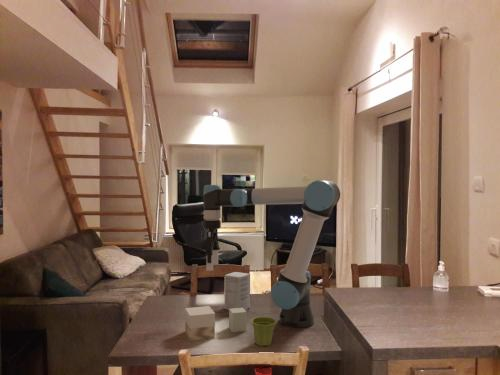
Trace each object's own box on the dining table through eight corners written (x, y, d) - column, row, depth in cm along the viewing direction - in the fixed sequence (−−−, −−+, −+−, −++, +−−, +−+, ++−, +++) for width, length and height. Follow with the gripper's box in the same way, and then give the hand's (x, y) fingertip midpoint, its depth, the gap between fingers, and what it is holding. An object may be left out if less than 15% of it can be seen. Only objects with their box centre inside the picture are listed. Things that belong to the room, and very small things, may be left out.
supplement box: (250, 308, 198) (251, 273, 198) (240, 313, 190) (240, 277, 190) (234, 304, 203) (235, 271, 203) (223, 309, 195) (224, 274, 195)
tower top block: (209, 317, 168) (209, 306, 168) (214, 326, 159) (215, 313, 159) (185, 320, 165) (185, 308, 165) (189, 328, 155) (189, 315, 155)
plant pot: (258, 336, 160) (258, 315, 160) (279, 341, 156) (280, 319, 156) (246, 344, 152) (246, 322, 152) (268, 350, 148) (268, 326, 147)
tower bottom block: (209, 330, 168) (209, 318, 168) (214, 338, 159) (214, 326, 158) (185, 332, 165) (185, 320, 165) (189, 341, 156) (189, 328, 156)
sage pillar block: (242, 326, 172) (242, 307, 172) (246, 331, 167) (246, 311, 166) (228, 327, 171) (229, 308, 170) (232, 332, 165) (232, 313, 165)
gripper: (209, 217, 192) (209, 262, 192) (197, 221, 167) (198, 273, 167) (224, 217, 191) (225, 262, 191) (215, 221, 166) (216, 273, 166)
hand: (212, 267), depth 179 cm, fingers open, 13 cm apart
